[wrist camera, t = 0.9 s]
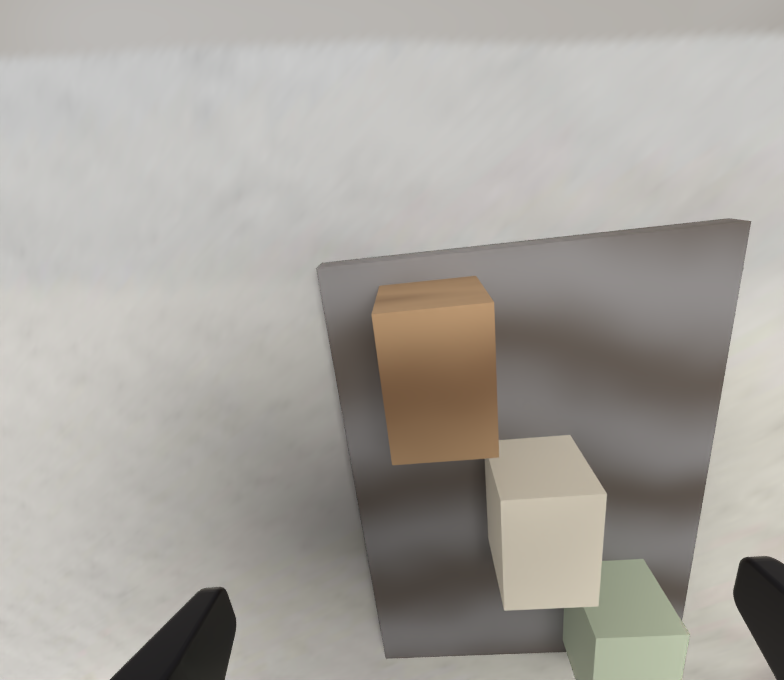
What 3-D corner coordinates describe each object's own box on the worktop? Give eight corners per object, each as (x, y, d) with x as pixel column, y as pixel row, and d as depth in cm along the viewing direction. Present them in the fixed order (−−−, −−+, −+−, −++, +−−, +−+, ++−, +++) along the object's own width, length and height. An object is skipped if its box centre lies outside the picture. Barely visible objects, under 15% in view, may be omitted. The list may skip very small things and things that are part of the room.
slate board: (665, 627, 26) (677, 647, 25) (386, 638, 27) (385, 658, 26) (729, 218, 18) (751, 221, 16) (321, 263, 19) (316, 268, 18)
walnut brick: (482, 404, 20) (499, 457, 16) (395, 411, 20) (392, 465, 16) (476, 275, 18) (494, 302, 14) (379, 285, 18) (371, 314, 14)
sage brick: (633, 637, 25) (674, 719, 21) (562, 640, 25) (589, 722, 21) (643, 558, 22) (689, 634, 19) (565, 562, 23) (596, 638, 19)
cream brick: (566, 533, 22) (598, 606, 18) (488, 538, 22) (504, 610, 19) (570, 434, 20) (606, 493, 16) (483, 441, 20) (500, 500, 17)
